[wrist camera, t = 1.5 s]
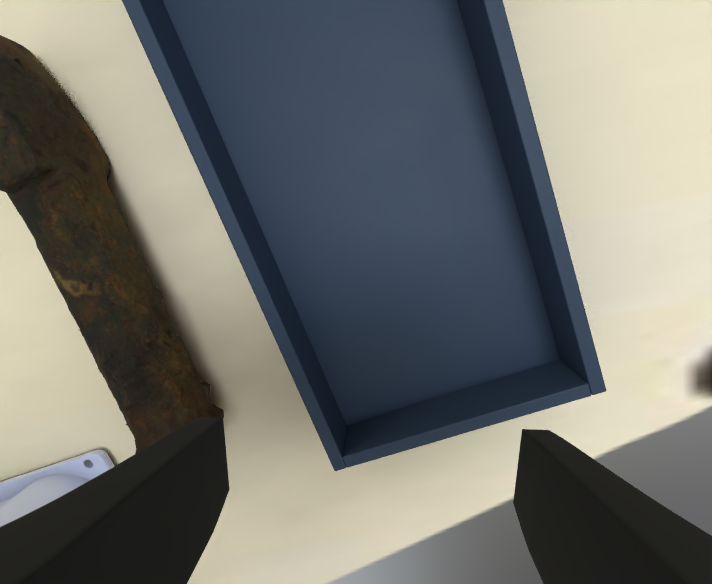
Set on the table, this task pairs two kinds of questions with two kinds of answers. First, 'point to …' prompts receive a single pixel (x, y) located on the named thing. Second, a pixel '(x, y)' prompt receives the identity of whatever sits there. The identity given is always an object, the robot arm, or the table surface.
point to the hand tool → (92, 251)
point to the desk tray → (382, 207)
